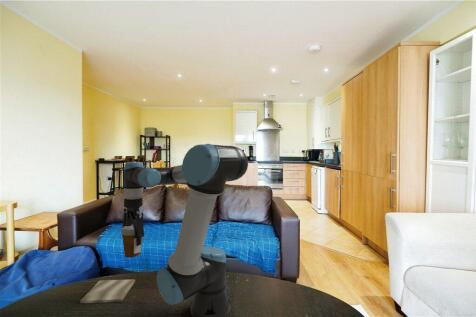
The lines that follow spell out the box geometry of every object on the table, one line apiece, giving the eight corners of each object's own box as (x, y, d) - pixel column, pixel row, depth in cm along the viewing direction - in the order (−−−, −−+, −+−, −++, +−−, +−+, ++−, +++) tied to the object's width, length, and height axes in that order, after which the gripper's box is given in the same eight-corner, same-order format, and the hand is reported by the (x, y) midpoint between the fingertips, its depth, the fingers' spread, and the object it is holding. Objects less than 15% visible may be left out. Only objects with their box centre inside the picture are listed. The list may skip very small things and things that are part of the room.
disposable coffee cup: (148, 251, 110) (148, 224, 110) (136, 260, 100) (137, 231, 100) (128, 249, 111) (129, 223, 111) (115, 258, 102) (115, 230, 101)
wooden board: (135, 281, 114) (135, 279, 114) (121, 301, 98) (121, 299, 98) (99, 282, 112) (99, 280, 112) (79, 303, 97) (79, 300, 97)
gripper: (153, 200, 101) (152, 254, 101) (131, 193, 115) (130, 240, 116) (136, 202, 95) (135, 259, 96) (114, 195, 110) (113, 245, 110)
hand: (132, 249), depth 106 cm, fingers closed on disposable coffee cup, 8 cm apart
